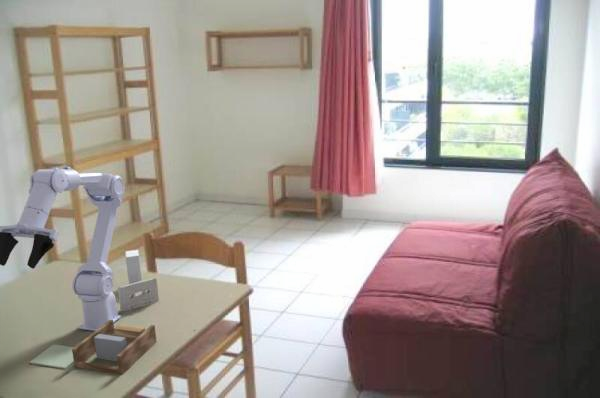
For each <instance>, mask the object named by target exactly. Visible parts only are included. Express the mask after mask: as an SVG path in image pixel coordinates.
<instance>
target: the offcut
mask: <svg viewBox="0 0 600 398" xmlns="http://www.w3.org/2000/svg"><path fill="white" fill-rule="evenodd" d="M145 330H146V328H145V326H144V327H143V326H135V325H128V324H121V323H120V324H118V325H116V326H114V334H113V335H112V336H119V337H126V345H127V346H128V345H129V344H130V343H132V342H133V341H134V340H135V339H136V338H137V337H138V336H140V335H141V334H142V333H143V332H144V331H145Z"/></svg>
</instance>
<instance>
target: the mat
mask: <svg viewBox="0 0 600 398" xmlns="http://www.w3.org/2000/svg"><path fill="white" fill-rule="evenodd" d="M74 347H75V346H73V347H72V346H65V345H58V344H52V345H51V346H49V347H48V348H47V349H45V350H44V351H43V352H41V353H39V355H37V356H36V357H34V358H33V359H31V360H30V361H29V364H32V365H38V366H43V367H51V368H56V369H62V370H66V369H68V368H70V366H71V365H73V364H74V359H73V353H72V349H73V348H74Z"/></svg>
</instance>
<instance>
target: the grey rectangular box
mask: <svg viewBox="0 0 600 398" xmlns="http://www.w3.org/2000/svg"><path fill="white" fill-rule="evenodd" d="M94 341H95V348H96V353H95V355H96V359H99V358H101V360H106V361H107V360H108V361H113V362H114V361H115V362H117V355H118V354H119V353H120V352H121V351H123V350H124V349H125V348H126V347H127V346H128V345H127V344H126V337H119V336H111V335H104V334H98V335H97V336H95V337H94Z"/></svg>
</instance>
